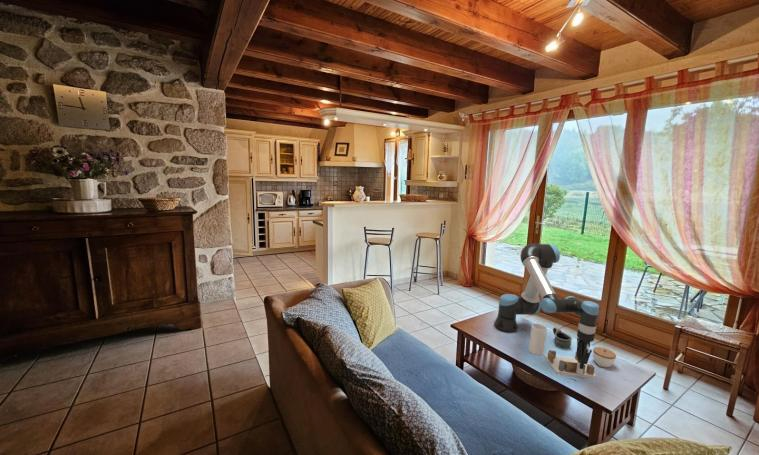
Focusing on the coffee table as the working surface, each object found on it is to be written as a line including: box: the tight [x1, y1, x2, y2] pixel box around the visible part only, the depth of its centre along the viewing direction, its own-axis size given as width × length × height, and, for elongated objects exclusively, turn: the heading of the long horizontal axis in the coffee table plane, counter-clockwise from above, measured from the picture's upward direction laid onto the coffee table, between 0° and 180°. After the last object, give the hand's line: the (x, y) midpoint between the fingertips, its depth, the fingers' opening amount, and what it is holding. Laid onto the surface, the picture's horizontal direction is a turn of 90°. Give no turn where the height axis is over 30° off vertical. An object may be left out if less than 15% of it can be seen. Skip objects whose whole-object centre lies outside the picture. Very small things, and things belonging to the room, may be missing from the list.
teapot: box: [552, 326, 573, 349], centre depth 203 cm, size 10×12×10 cm
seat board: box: [544, 349, 598, 380], centre depth 179 cm, size 17×20×6 cm
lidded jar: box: [592, 346, 617, 368], centre depth 183 cm, size 11×11×9 cm
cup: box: [528, 322, 548, 356], centre depth 193 cm, size 8×8×16 cm
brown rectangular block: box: [564, 362, 586, 374], centre depth 172 cm, size 9×3×5 cm, turn 83°
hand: (579, 372), depth 170 cm, fingers closed
